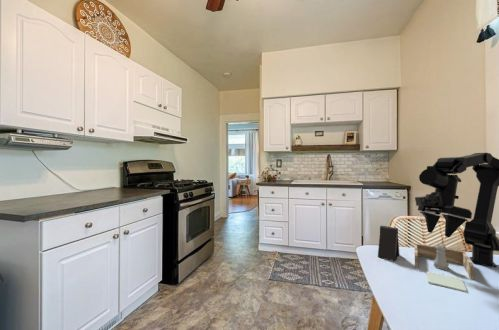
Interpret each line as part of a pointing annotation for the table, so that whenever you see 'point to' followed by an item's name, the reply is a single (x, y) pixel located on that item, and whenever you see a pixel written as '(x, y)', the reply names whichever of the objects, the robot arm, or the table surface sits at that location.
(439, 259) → the rook chess piece
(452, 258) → the open box
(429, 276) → the sage mat
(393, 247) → the phone stand
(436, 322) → the table surface
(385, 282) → the table surface
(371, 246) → the table surface
